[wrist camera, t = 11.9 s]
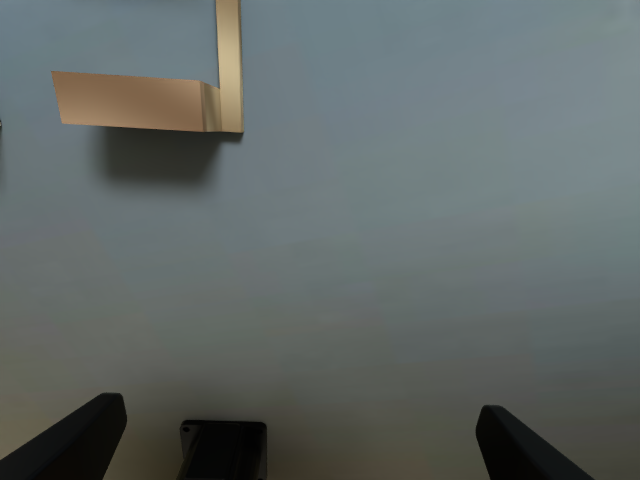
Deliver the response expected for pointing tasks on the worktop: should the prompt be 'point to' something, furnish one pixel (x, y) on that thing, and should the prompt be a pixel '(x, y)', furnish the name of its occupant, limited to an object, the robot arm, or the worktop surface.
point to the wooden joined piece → (162, 92)
